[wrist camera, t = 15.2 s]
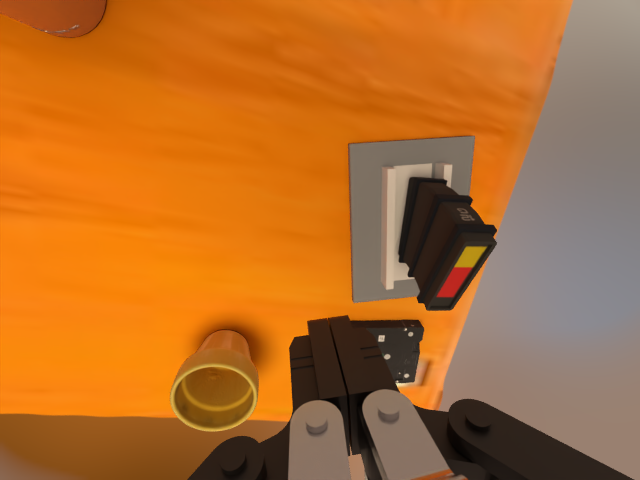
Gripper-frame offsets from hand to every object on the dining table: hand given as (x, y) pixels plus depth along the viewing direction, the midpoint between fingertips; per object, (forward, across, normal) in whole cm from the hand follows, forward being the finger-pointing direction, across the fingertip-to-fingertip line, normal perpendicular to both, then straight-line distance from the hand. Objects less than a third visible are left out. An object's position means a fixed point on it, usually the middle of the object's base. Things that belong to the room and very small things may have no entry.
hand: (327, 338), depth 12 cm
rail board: (+31, -15, +7) cm, 35 cm away
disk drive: (+31, -10, +27) cm, 42 cm away
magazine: (+30, -16, +7) cm, 35 cm away
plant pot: (+31, +12, +24) cm, 41 cm away
